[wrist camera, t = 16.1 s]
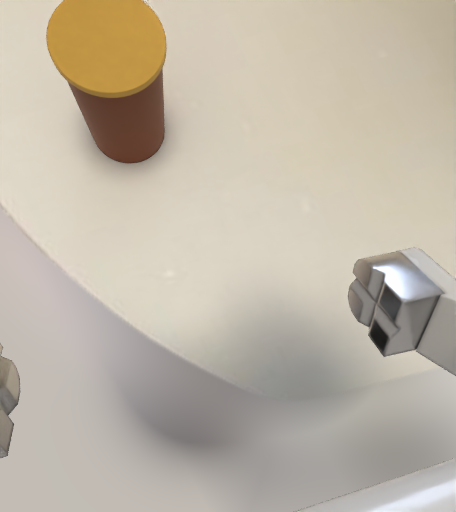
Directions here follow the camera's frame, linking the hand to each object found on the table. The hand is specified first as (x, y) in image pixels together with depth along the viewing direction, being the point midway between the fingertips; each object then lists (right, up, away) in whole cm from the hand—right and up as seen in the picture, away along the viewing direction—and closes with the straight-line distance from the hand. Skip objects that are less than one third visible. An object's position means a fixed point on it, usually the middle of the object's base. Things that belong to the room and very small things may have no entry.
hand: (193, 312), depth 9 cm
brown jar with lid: (-5, +9, +15) cm, 18 cm away
